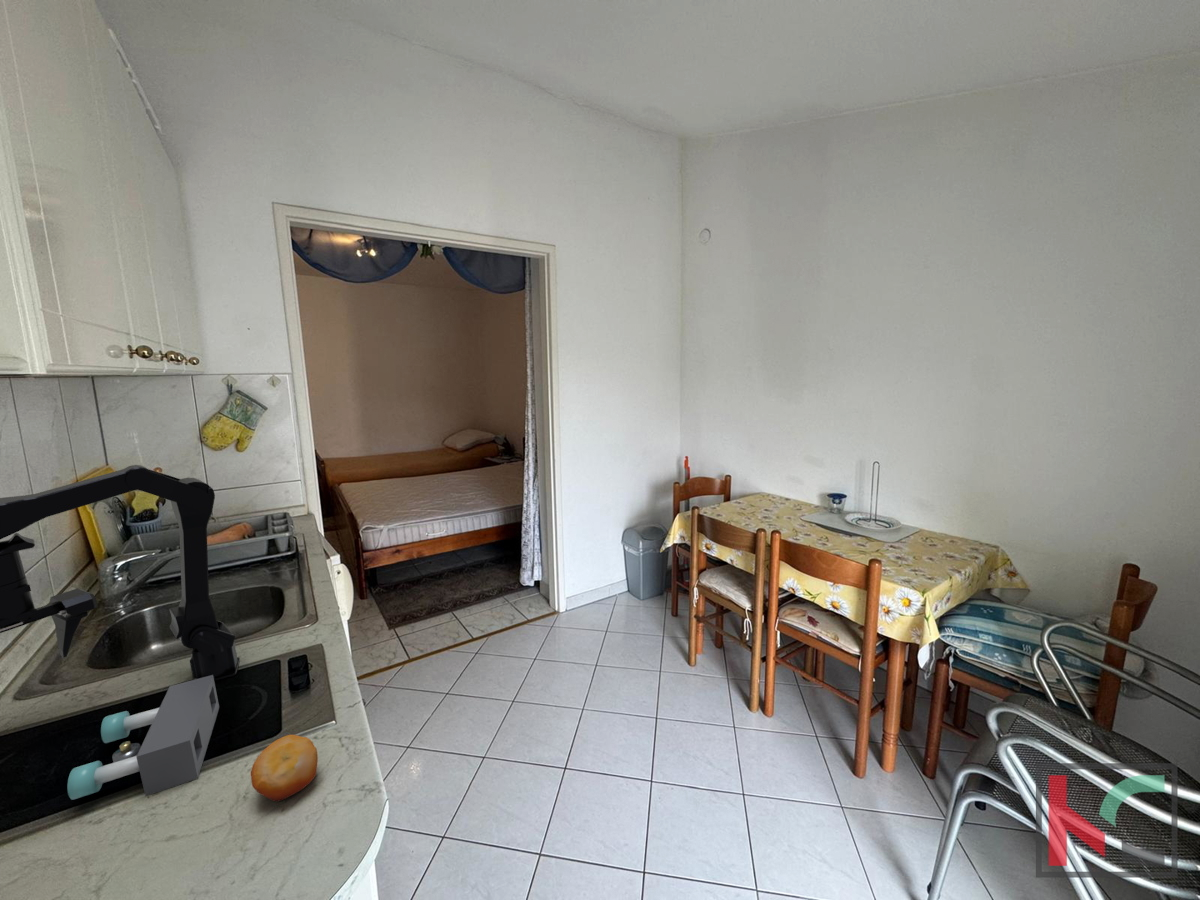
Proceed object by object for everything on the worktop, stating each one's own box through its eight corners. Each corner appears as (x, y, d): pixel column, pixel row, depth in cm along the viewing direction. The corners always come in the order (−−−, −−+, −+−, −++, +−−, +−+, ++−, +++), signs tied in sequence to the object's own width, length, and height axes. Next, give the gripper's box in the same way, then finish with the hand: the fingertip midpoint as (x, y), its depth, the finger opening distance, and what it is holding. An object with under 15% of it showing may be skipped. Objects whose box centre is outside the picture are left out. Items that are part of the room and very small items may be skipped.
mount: (219, 707, 90) (213, 674, 89) (197, 778, 74) (189, 740, 73) (176, 719, 87) (169, 686, 86) (145, 796, 72) (136, 756, 70)
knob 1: (181, 713, 87) (177, 692, 86) (176, 727, 83) (171, 706, 82) (113, 732, 82) (108, 711, 82) (104, 748, 79) (99, 726, 78)
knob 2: (162, 760, 76) (157, 737, 75) (155, 778, 73) (149, 754, 72) (83, 785, 72) (77, 761, 71) (71, 806, 69) (64, 781, 68)
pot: (146, 753, 80) (141, 733, 79) (140, 767, 77) (135, 746, 76) (119, 762, 78) (114, 741, 78) (112, 776, 75) (107, 755, 75)
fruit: (306, 742, 79) (308, 716, 75) (323, 789, 75) (325, 765, 71) (245, 772, 73) (243, 746, 69) (259, 825, 69) (258, 801, 65)
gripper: (59, 552, 89) (80, 632, 92) (-119, 600, 73) (-86, 695, 76) (87, 561, 84) (109, 645, 87) (-97, 615, 68) (-63, 716, 71)
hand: (24, 672), depth 80 cm, fingers open, 9 cm apart
